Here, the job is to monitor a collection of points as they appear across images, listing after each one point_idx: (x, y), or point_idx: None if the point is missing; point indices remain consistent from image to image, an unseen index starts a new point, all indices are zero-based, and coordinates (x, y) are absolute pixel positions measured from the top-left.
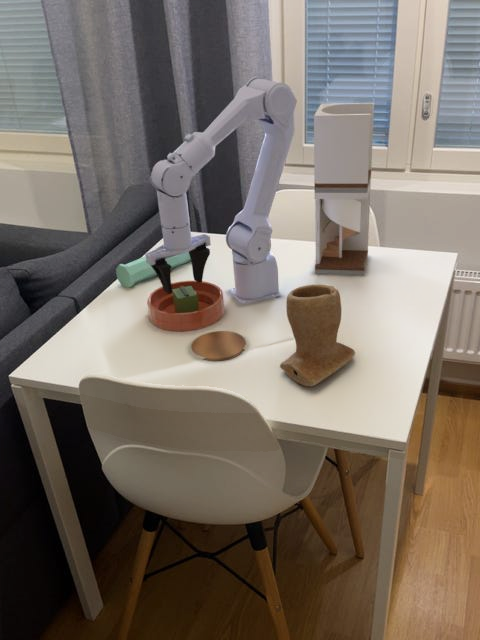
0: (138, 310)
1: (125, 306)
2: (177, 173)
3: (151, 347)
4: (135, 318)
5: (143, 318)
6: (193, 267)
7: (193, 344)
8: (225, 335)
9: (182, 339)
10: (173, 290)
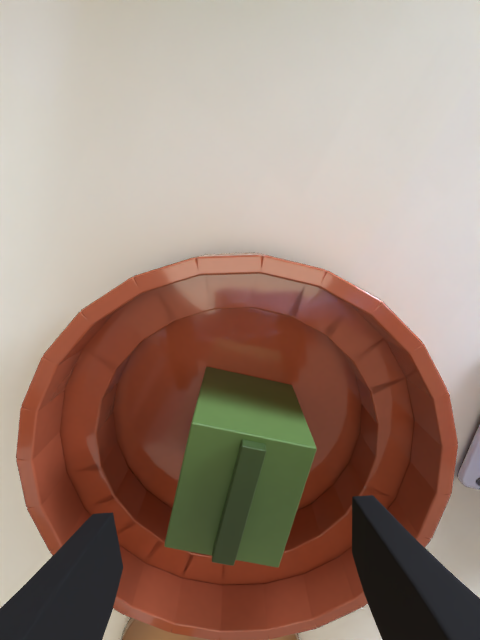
0: (73, 221)
1: (28, 126)
2: None
3: (14, 536)
4: (32, 290)
5: (65, 314)
6: (407, 594)
7: (139, 624)
8: None
9: None
10: (193, 439)
